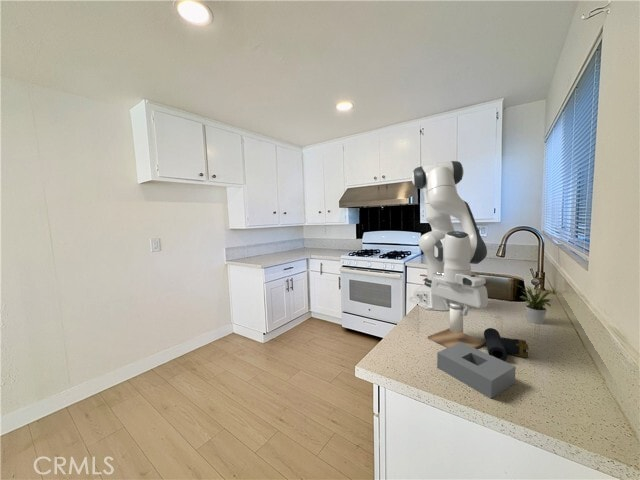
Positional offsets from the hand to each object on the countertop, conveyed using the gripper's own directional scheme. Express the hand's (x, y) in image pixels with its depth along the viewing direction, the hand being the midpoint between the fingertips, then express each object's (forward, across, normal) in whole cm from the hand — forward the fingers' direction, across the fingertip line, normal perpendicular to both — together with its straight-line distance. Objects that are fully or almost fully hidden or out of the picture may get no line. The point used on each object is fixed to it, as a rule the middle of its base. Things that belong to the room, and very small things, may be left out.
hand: (456, 312), depth 95 cm
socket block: (+11, +15, -14) cm, 23 cm away
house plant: (+12, +6, +43) cm, 45 cm away
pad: (+11, 0, 0) cm, 11 cm away
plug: (+7, 0, 0) cm, 7 cm away
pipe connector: (+12, +13, +8) cm, 19 cm away
